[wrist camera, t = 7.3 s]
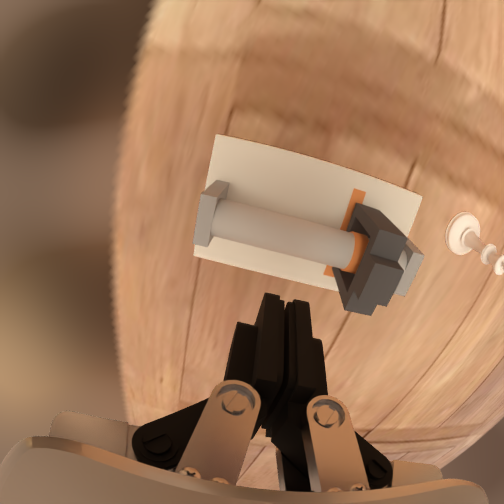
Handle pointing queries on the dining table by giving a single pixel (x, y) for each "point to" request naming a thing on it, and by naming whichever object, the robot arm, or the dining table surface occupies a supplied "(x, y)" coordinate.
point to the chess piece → (471, 241)
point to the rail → (294, 214)
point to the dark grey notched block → (372, 262)
